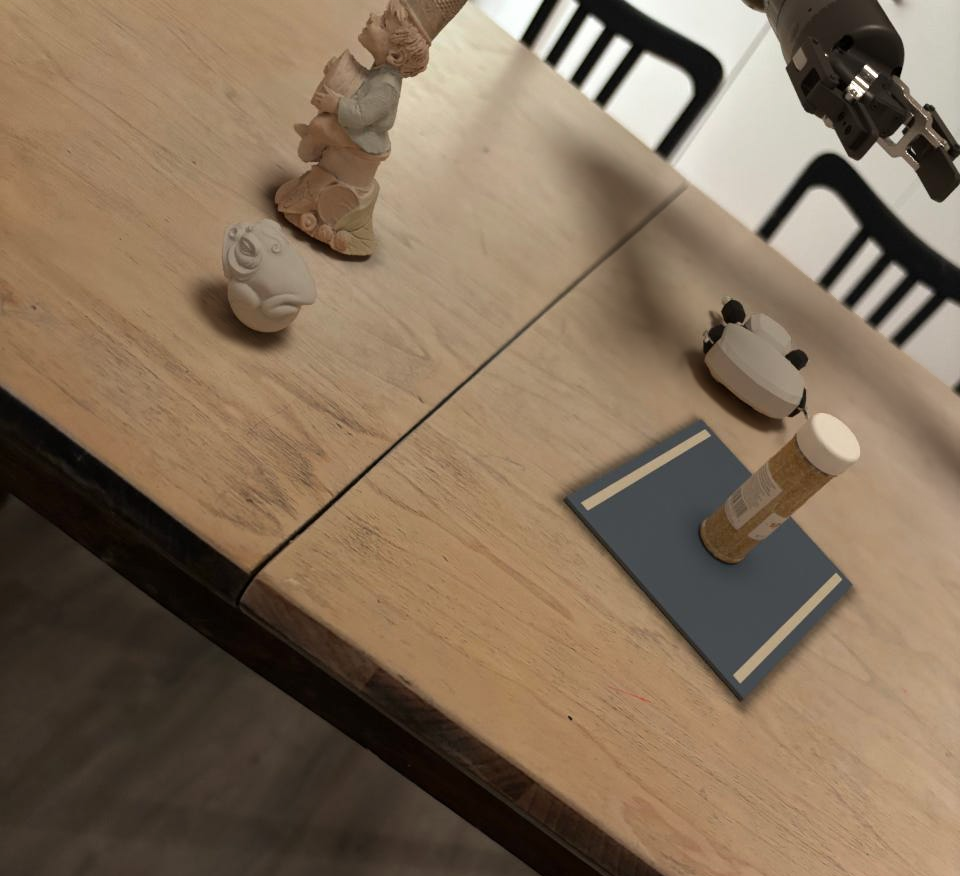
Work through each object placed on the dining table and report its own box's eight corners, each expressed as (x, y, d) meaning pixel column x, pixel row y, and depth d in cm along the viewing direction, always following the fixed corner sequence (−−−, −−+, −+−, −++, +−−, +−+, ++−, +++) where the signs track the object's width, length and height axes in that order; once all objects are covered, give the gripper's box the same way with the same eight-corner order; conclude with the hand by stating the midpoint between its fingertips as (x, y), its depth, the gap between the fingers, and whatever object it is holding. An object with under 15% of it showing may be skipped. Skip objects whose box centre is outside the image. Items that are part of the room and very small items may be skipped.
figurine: (378, 214, 82) (489, -24, 67) (370, 275, 77) (487, 33, 63) (276, 166, 79) (369, -95, 64) (260, 227, 74) (357, -41, 59)
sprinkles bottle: (740, 574, 79) (864, 470, 69) (695, 548, 78) (814, 438, 68) (743, 536, 82) (862, 431, 72) (698, 510, 81) (813, 400, 71)
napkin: (698, 421, 89) (701, 418, 89) (849, 587, 87) (853, 584, 86) (563, 499, 74) (566, 496, 74) (740, 701, 72) (744, 698, 72)
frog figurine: (227, 270, 70) (255, 188, 65) (312, 326, 71) (346, 250, 66) (185, 310, 66) (211, 226, 61) (276, 369, 67) (309, 291, 62)
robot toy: (702, 312, 102) (678, 372, 91) (731, 277, 99) (709, 335, 88) (794, 382, 103) (780, 450, 93) (825, 350, 100) (815, 416, 90)
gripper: (804, -45, 71) (878, 81, 63) (935, 37, 78) (1017, 161, 70) (737, 52, 77) (797, 180, 69) (865, 121, 83) (933, 245, 75)
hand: (908, 170), depth 69 cm, fingers open, 8 cm apart
